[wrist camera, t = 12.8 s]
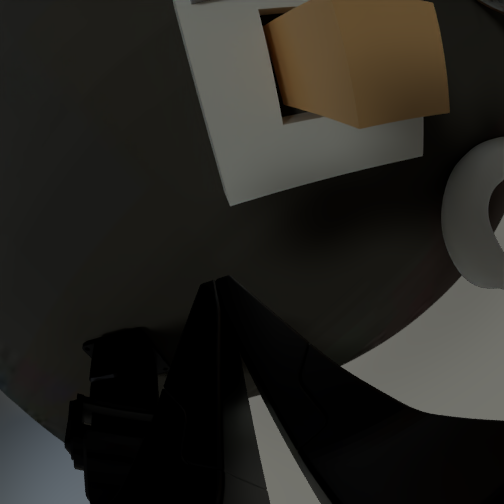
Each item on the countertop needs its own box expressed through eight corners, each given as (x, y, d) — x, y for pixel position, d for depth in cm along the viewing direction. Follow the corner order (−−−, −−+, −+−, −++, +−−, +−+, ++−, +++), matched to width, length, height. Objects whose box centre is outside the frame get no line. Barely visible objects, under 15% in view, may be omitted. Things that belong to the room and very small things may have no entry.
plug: (354, 89, 15) (449, 112, 9) (283, 104, 15) (359, 128, 9) (326, -21, 10) (412, -56, 4) (247, -16, 10) (302, -76, 4)
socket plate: (405, 147, 18) (428, 158, 16) (224, 192, 17) (232, 210, 15) (382, -27, 10) (407, -33, 8) (166, -23, 9) (165, -39, 7)
